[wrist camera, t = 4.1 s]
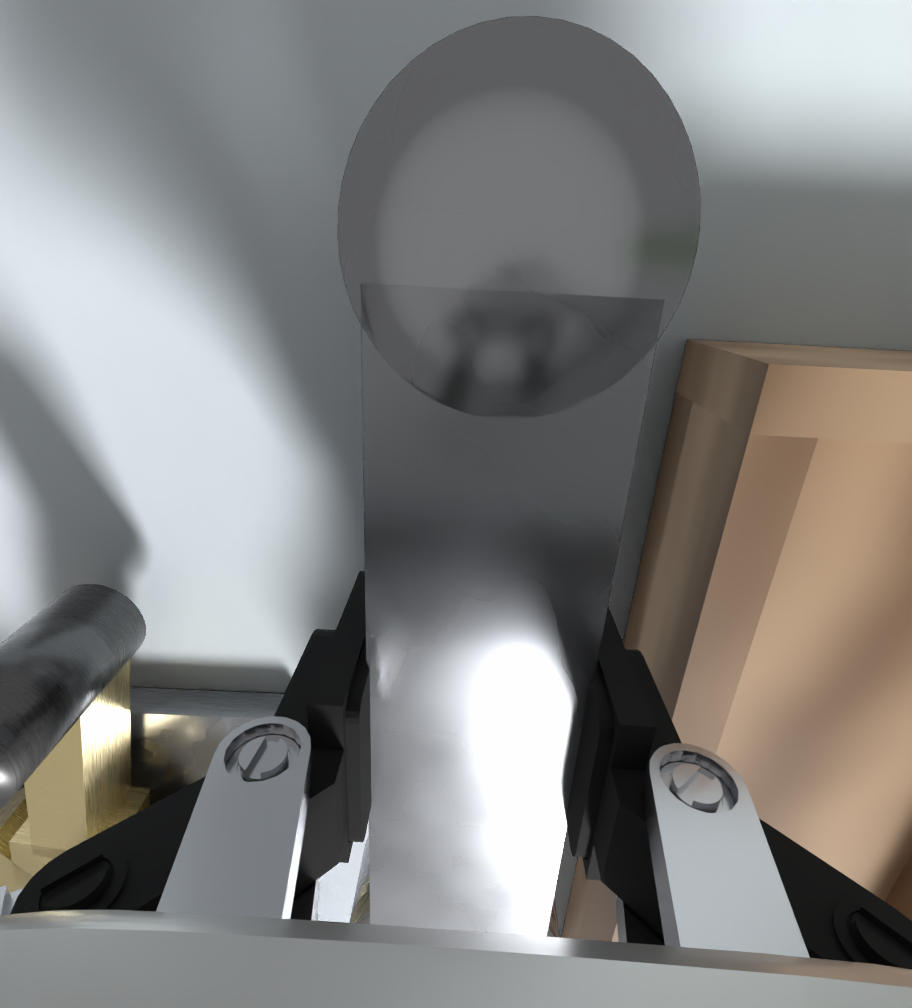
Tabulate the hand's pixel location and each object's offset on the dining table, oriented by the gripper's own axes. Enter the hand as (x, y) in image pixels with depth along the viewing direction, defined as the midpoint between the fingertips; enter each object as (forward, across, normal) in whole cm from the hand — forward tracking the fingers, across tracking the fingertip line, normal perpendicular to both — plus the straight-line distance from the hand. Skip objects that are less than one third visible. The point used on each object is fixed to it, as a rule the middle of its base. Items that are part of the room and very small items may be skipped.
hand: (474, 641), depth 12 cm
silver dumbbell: (+1, 0, 0) cm, 1 cm away
